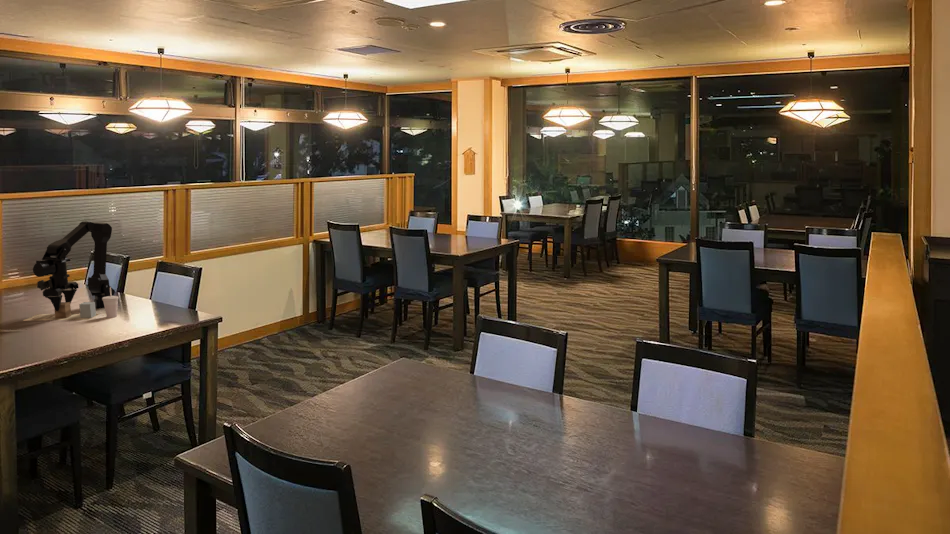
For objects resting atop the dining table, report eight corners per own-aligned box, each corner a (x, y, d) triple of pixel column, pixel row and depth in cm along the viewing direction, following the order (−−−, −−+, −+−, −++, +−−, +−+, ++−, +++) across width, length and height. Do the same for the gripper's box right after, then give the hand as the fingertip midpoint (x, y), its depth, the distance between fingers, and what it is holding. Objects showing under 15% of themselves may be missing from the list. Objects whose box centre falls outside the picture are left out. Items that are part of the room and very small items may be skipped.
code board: (100, 315, 317) (100, 313, 317) (87, 322, 306) (87, 319, 305) (37, 316, 316) (37, 314, 316) (22, 322, 304) (22, 320, 304)
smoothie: (123, 317, 314) (120, 286, 312) (114, 321, 308) (112, 289, 306) (109, 317, 315) (106, 285, 312) (100, 320, 308) (97, 288, 306)
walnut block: (71, 315, 313) (70, 302, 312) (66, 318, 309) (64, 304, 308) (60, 315, 313) (59, 302, 312) (55, 318, 308) (54, 304, 307)
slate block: (96, 315, 314) (94, 302, 313) (91, 317, 309) (90, 304, 308) (85, 315, 313) (84, 302, 312) (80, 317, 309) (79, 304, 308)
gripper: (51, 269, 316) (54, 304, 319) (27, 277, 298) (31, 313, 300) (77, 269, 317) (80, 303, 319) (55, 276, 299) (59, 313, 301)
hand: (62, 308), depth 310 cm, fingers open, 9 cm apart
